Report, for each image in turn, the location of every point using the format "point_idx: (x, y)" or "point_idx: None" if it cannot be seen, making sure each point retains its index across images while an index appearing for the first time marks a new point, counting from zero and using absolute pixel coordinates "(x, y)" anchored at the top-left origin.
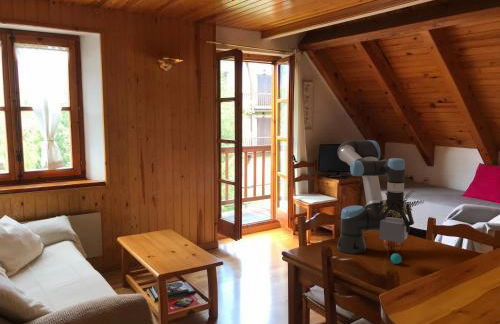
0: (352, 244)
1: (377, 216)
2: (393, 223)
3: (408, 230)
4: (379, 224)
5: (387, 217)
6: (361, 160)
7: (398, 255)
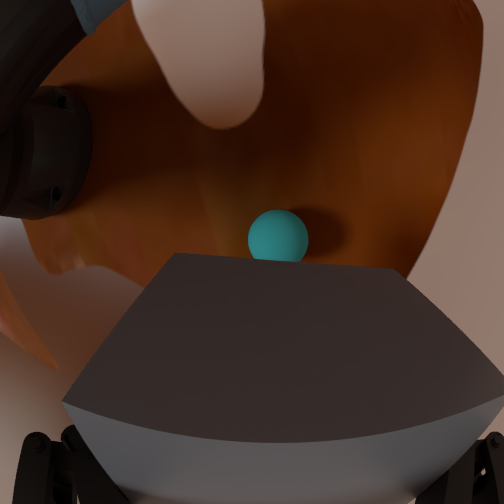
0: (33, 211)
1: (63, 500)
2: None
3: None
4: None
5: (109, 453)
6: None
7: (295, 255)
